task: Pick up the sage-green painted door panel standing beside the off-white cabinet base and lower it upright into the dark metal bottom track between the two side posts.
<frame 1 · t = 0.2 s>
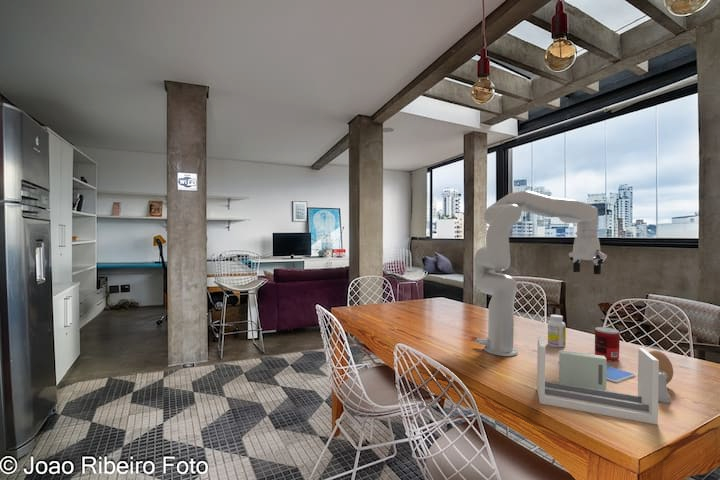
hand: (586, 273, 149), 31 cm above the table, tool pointing down, fingers open, 9 cm apart
supplement bottle: (556, 345, 146), on the table
canned food: (606, 358, 131), on the table
cabinet base: (591, 404, 94), on the table
tablet computer: (594, 371, 119), on the table
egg: (656, 385, 107), on the table
door panel: (581, 386, 105), on the table
rook chess piece: (660, 400, 97), on the table
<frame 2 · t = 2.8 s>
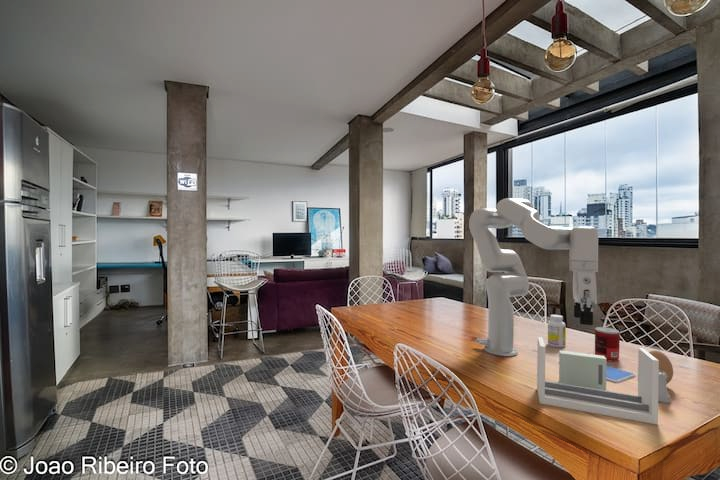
hand: (582, 320, 105), 20 cm above the table, tool pointing down, fingers open, 9 cm apart
nothing on the table moved.
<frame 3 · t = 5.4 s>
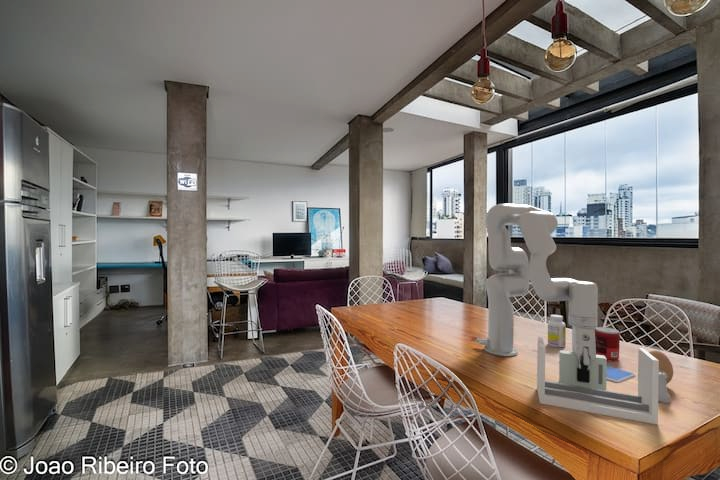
hand: (581, 378, 105), 2 cm above the table, tool pointing down, fingers closed on door panel, 3 cm apart
door panel: (581, 386, 105), on the table, touching gripper
everything else where it was.
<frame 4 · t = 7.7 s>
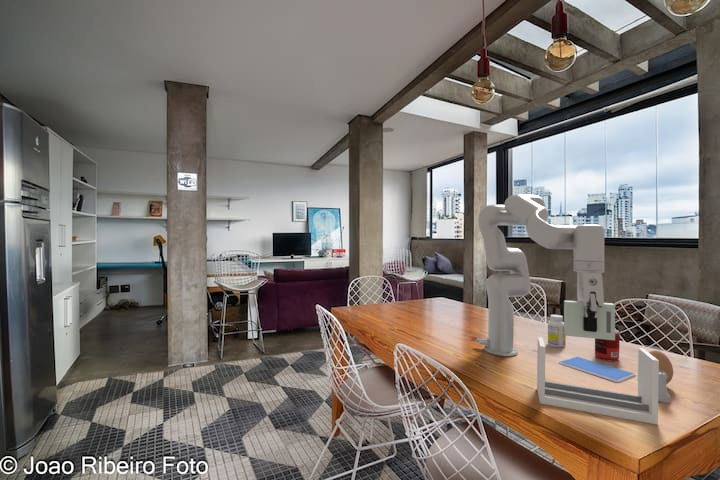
hand: (588, 329, 99), 20 cm above the table, tool pointing down, fingers closed on door panel, 3 cm apart
door panel: (588, 336, 99), point 18 cm above the table, touching gripper
everything else where it was.
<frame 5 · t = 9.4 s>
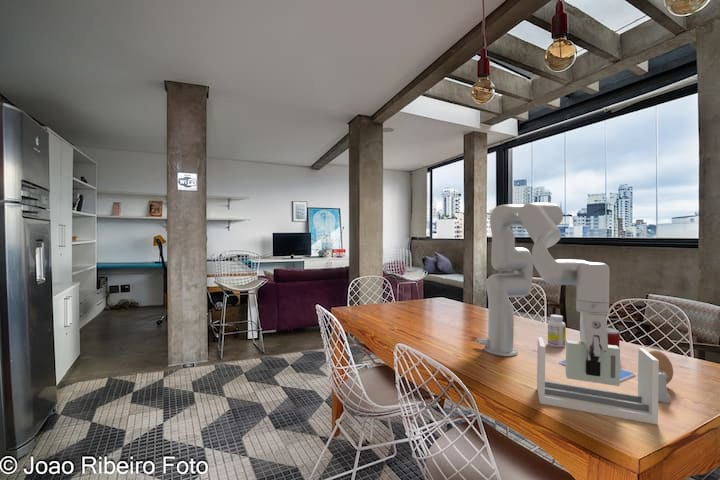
hand: (591, 372, 94), 9 cm above the table, tool pointing down, fingers closed on door panel, 3 cm apart
door panel: (591, 380, 94), point 7 cm above the table, touching gripper
everything else where it was.
when the fingers open (5 cm above the table, at t = 10.4 s): door panel stays where it is, resting on cabinet base.
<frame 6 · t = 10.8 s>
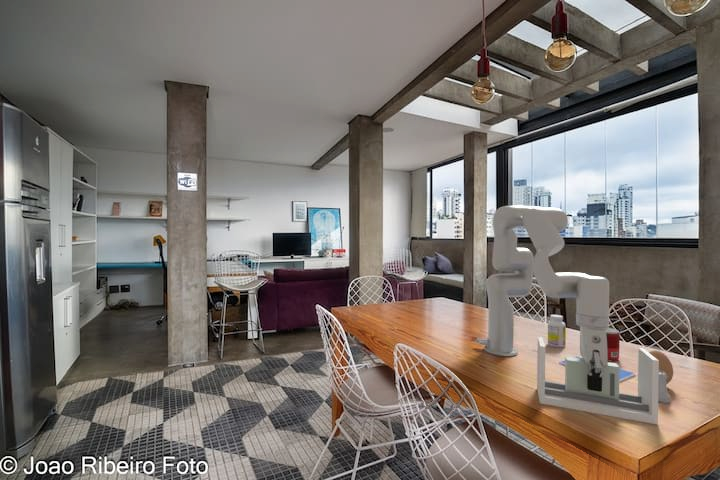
hand: (591, 384, 94), 6 cm above the table, tool pointing down, fingers open, 6 cm apart
door panel: (590, 397, 94), point 2 cm above the table, touching cabinet base
everything else where it was.
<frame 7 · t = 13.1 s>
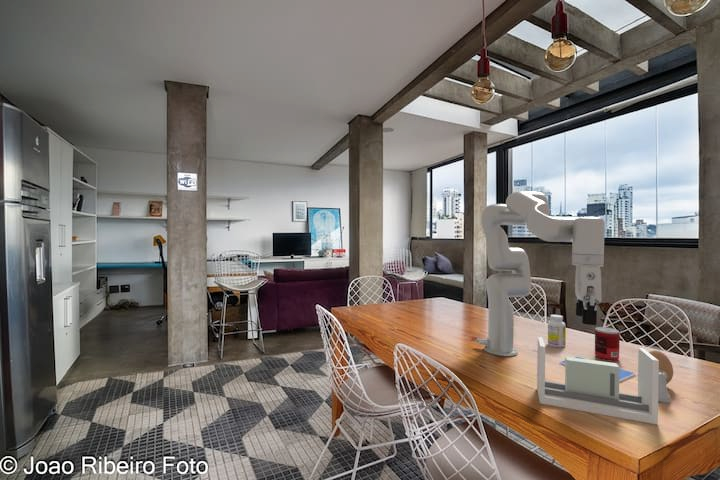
hand: (585, 320, 96), 23 cm above the table, tool pointing down, fingers open, 9 cm apart
nothing on the table moved.
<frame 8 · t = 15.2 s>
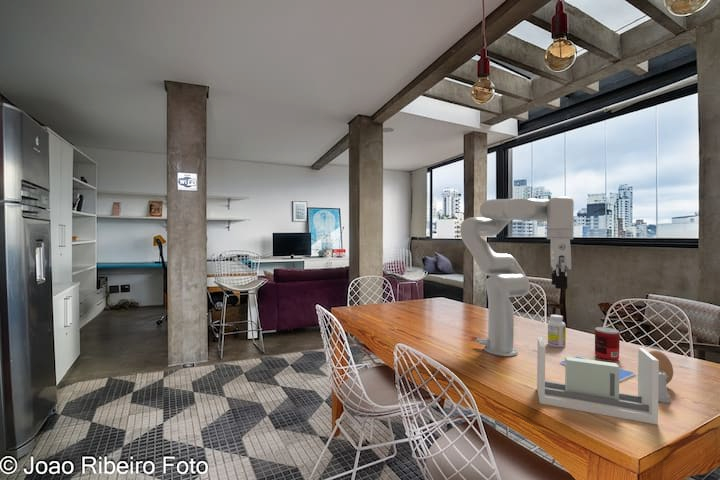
hand: (559, 286, 111), 30 cm above the table, tool pointing down, fingers open, 9 cm apart
nothing on the table moved.
at the end: door panel inside the target area on the cabinet base (0.1 cm from its centre), point 2.0 cm above the cabinet base's base; door panel tilted 0°; the gripper is holding nothing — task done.
